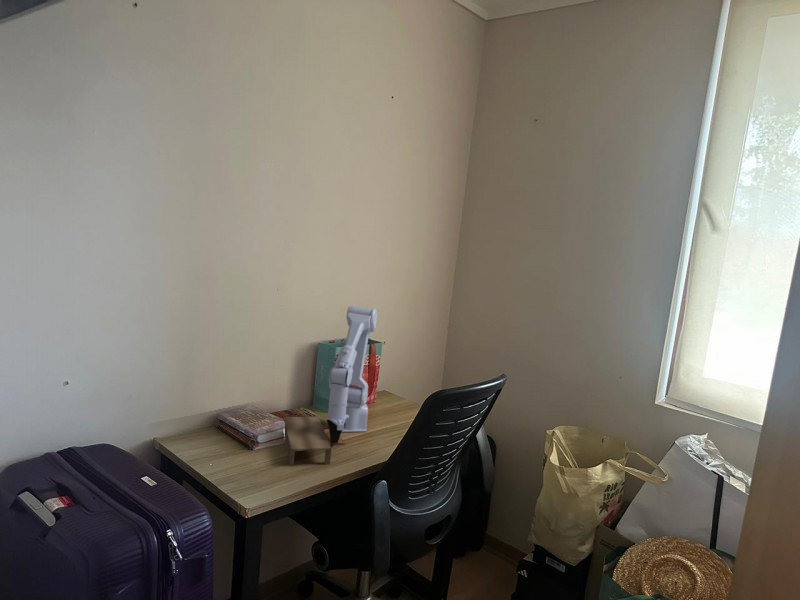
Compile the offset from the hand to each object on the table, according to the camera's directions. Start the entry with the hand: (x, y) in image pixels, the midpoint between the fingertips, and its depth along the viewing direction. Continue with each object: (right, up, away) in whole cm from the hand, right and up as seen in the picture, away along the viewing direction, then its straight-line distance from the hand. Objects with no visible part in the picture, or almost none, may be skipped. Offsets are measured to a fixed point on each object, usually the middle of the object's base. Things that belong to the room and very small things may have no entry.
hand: (334, 442), depth 180 cm
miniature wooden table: (-9, -1, -3) cm, 10 cm away
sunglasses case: (-6, -1, +2) cm, 6 cm away
